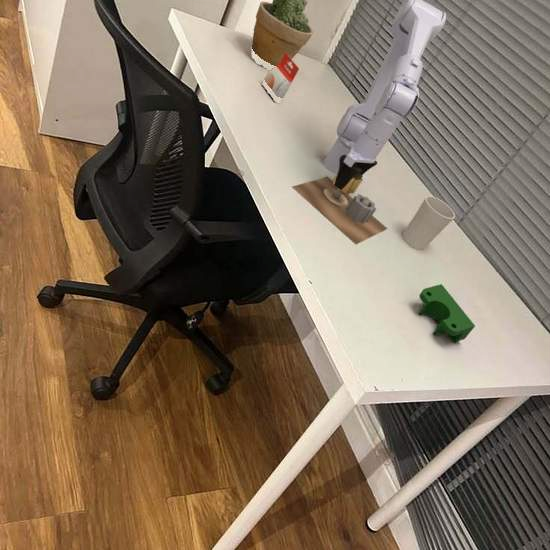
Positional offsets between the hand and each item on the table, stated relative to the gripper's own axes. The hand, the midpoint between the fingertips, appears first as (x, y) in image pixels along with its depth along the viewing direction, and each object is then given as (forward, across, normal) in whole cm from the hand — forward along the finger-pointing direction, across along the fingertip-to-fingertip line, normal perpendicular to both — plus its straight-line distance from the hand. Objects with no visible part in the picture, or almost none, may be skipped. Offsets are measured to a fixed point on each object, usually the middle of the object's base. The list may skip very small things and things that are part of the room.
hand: (343, 184), depth 129 cm
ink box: (+5, -28, -41) cm, 49 cm away
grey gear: (+4, 0, +7) cm, 8 cm away
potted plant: (+5, -46, -56) cm, 73 cm away
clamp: (+6, +14, +36) cm, 39 cm away
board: (+5, +3, +3) cm, 7 cm away
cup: (+5, -8, +20) cm, 22 cm away
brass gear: (0, 0, 0) cm, 1 cm away
